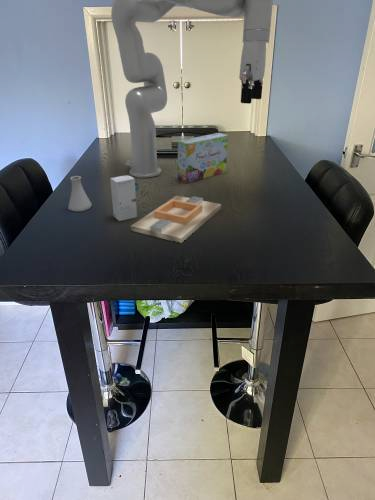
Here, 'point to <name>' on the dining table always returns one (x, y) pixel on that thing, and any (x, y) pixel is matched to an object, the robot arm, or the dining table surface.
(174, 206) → the board
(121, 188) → the skincare box
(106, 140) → the dining table surface
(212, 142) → the snack box
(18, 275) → the dining table surface
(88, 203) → the flask
